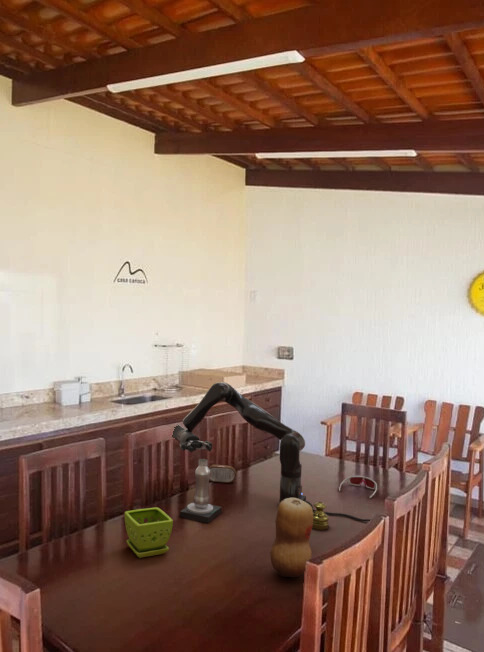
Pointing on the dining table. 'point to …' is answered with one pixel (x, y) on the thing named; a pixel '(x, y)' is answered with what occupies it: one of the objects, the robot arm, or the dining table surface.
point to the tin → (222, 473)
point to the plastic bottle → (202, 484)
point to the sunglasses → (359, 479)
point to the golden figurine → (320, 517)
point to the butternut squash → (292, 537)
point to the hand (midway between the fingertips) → (201, 449)
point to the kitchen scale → (201, 512)
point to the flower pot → (148, 531)
